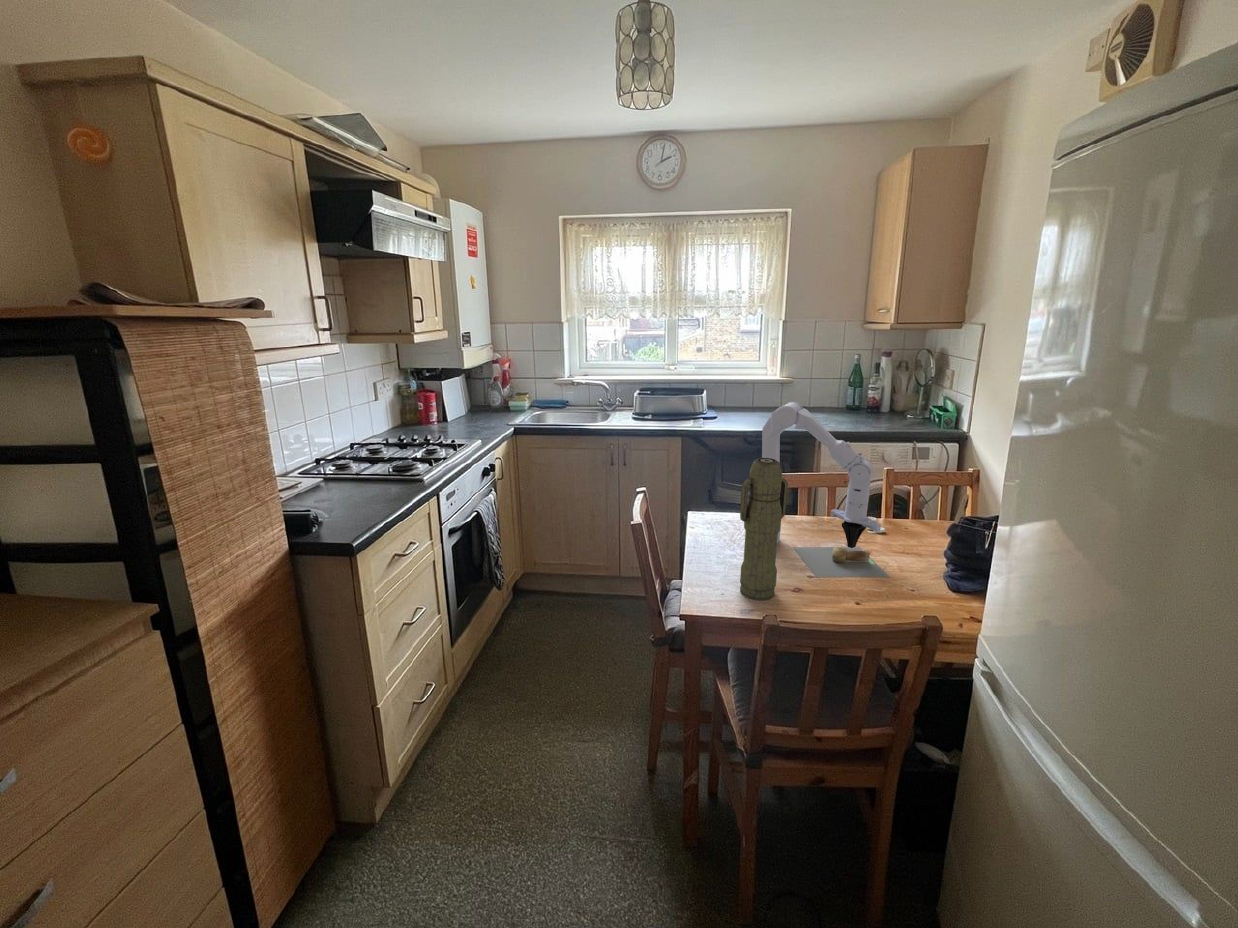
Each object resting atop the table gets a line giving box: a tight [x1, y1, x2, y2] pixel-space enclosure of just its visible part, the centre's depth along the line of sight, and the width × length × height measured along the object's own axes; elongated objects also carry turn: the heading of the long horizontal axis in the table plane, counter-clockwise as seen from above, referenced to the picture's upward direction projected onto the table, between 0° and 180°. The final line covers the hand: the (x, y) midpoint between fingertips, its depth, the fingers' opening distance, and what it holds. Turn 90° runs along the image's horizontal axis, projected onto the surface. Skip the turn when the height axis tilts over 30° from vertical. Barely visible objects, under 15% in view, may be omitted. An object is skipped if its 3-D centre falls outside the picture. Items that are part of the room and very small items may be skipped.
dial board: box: [792, 546, 891, 578], centre depth 162 cm, size 20×20×1 cm
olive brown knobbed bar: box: [832, 546, 871, 562], centre depth 161 cm, size 10×4×3 cm, turn 85°
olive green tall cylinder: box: [739, 457, 789, 601], centre depth 142 cm, size 9×12×35 cm
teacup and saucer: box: [866, 516, 886, 534], centre depth 189 cm, size 9×8×4 cm
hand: (851, 546), depth 165 cm, fingers closed
